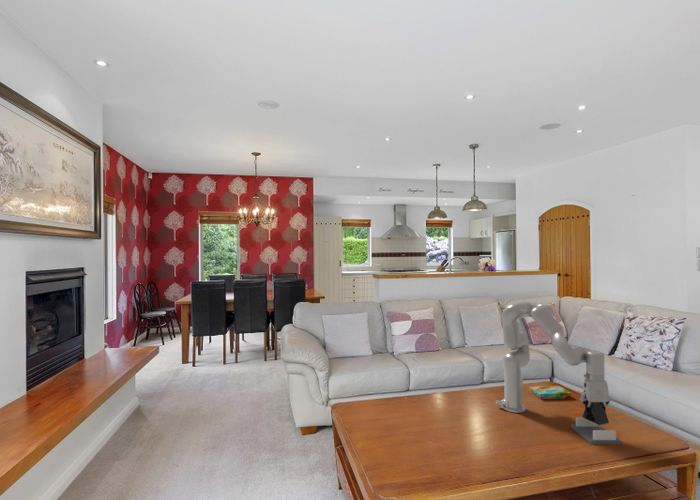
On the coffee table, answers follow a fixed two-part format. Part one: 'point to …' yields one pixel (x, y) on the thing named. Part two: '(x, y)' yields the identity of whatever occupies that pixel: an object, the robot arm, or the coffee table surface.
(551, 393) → the puzzle game
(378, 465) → the coffee table surface
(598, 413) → the phone stand
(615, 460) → the coffee table surface
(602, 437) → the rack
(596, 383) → the robot arm
